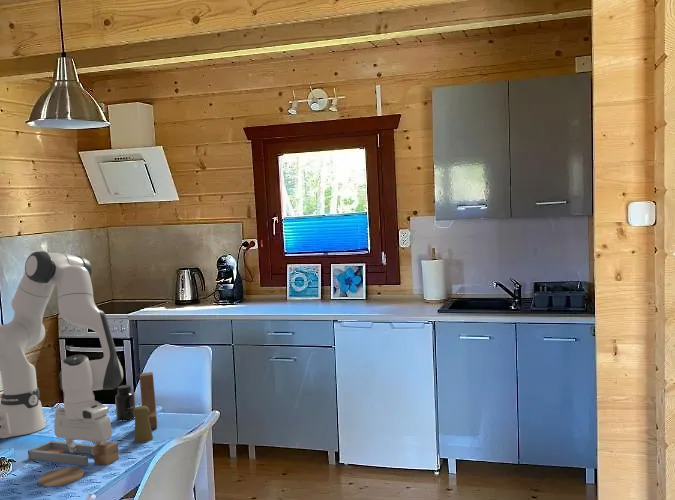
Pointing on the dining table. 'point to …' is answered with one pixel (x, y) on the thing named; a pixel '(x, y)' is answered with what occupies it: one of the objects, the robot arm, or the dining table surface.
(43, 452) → the channel
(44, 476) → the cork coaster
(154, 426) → the wooden block
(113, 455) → the walnut block
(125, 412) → the supplement bottle
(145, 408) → the pepper shaker
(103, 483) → the dining table surface
